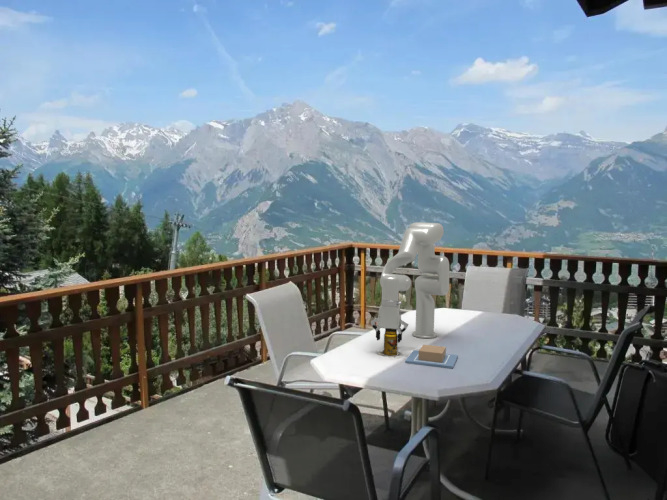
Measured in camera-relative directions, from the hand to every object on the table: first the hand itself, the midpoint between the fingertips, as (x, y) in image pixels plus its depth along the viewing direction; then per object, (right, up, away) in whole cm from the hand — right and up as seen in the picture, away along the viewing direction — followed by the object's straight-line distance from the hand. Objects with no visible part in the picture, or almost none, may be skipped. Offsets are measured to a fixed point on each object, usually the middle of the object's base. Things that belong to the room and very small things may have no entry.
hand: (388, 340), depth 230 cm
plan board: (+18, -7, -8) cm, 21 cm away
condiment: (0, -6, +1) cm, 6 cm away
